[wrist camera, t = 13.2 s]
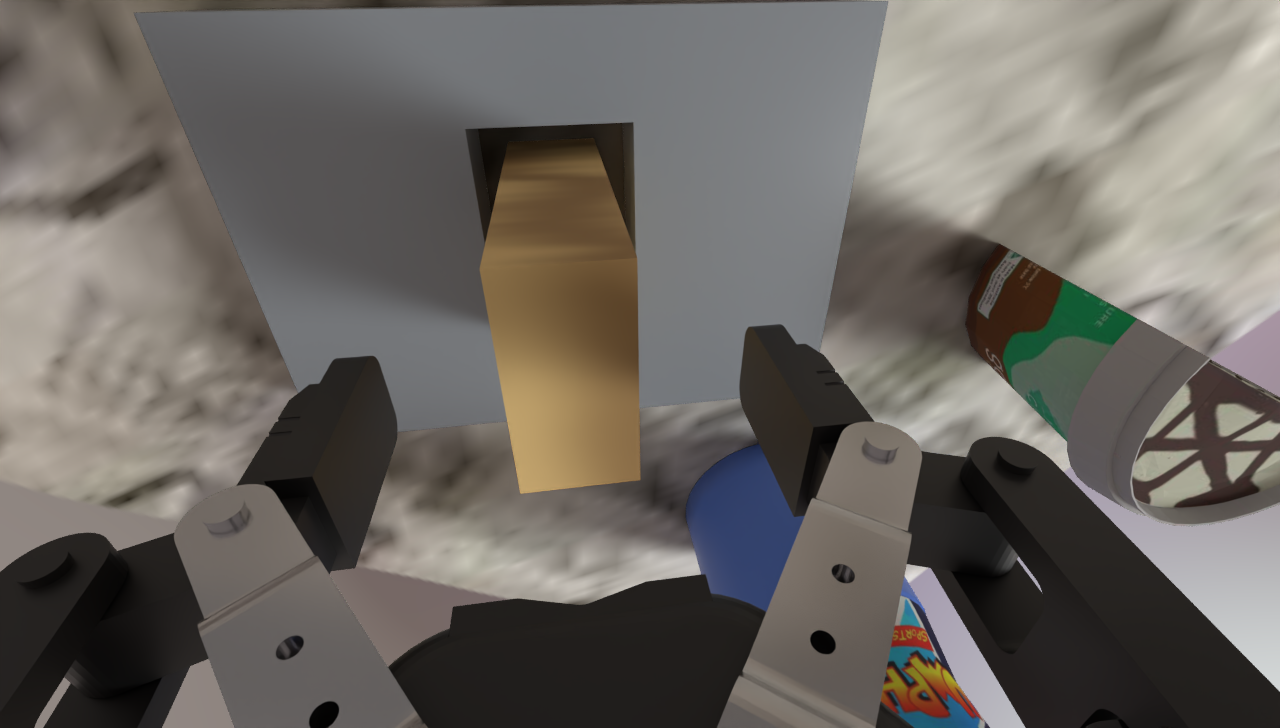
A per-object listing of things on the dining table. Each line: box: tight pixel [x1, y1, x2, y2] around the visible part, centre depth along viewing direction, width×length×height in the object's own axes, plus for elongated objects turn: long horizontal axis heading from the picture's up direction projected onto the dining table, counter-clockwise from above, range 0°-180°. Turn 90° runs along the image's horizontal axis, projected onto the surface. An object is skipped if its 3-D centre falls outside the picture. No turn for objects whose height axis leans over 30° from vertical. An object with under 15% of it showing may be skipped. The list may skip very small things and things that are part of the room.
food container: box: [965, 244, 1280, 526], centre depth 24 cm, size 12×6×10 cm, turn 64°
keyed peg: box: [480, 138, 640, 494], centre depth 17 cm, size 3×6×11 cm, turn 0°
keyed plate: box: [134, 0, 888, 432], centre depth 20 cm, size 14×20×3 cm
